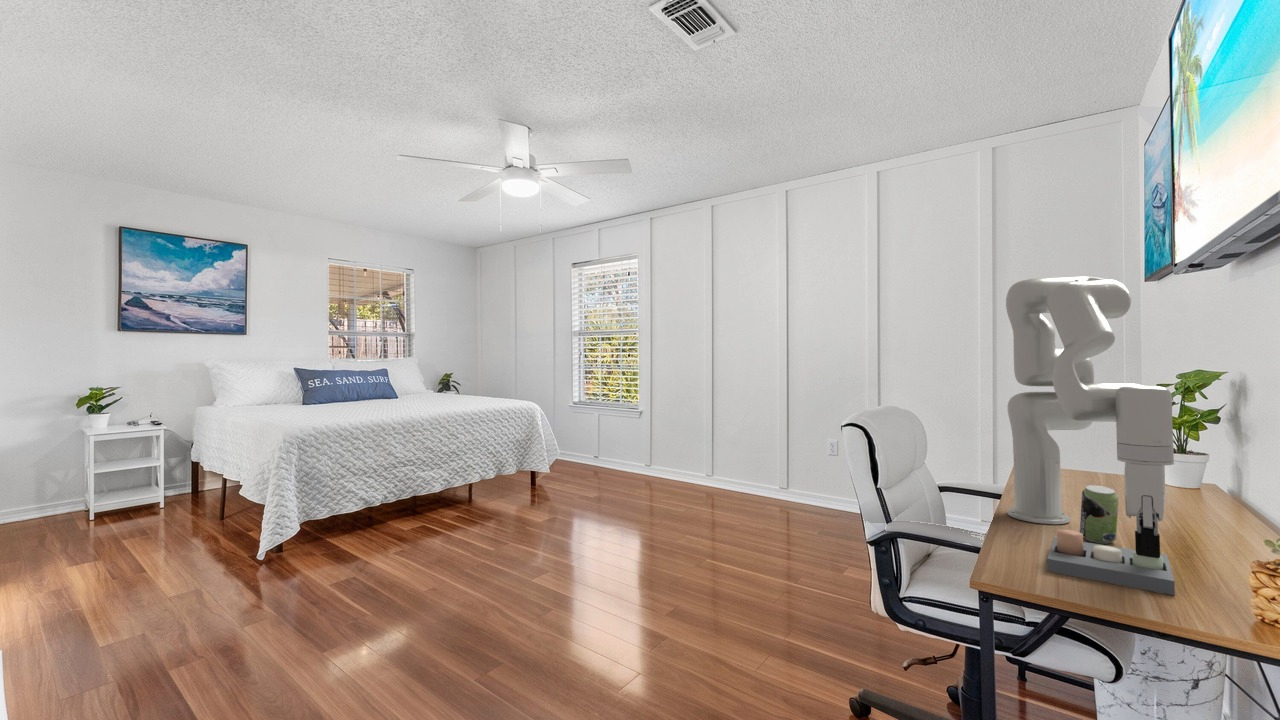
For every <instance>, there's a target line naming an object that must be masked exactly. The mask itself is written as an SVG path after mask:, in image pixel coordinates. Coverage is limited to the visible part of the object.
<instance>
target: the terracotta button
mask: <svg viewBox="0 0 1280 720" xmlns="http://www.w3.org/2000/svg"><path fill="white" fill-rule="evenodd" d="M1056 538H1057V551H1059V552H1061V553H1064V554H1069V555H1083V542H1084V536H1083V534H1082V533H1080V531H1076V530H1072V529H1056Z"/></svg>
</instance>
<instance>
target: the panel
mask: <svg viewBox="0 0 1280 720" xmlns="http://www.w3.org/2000/svg"><path fill="white" fill-rule="evenodd" d="M1098 545H1100V546H1107V544H1105V545H1104V544H1101V543H1095V542H1086V541H1083V555H1069V554H1064V553H1061V552H1059V551H1057V537H1053V541H1052V544H1051V546H1050V549H1049V552H1048V555H1047V561H1046V562H1047V564H1046V565H1047V572H1048V573H1053V574H1059V575H1065V576H1068V577H1069V576H1070V577H1075V578H1081V579H1086V580H1090V581H1096V582H1101V583H1102V582H1103V583H1107V584H1111V585H1118V586H1122V587H1128V588H1132V589H1138V588H1140V589H1139V590H1143V589H1145V590H1144V591H1148V590H1150V592H1154V593H1158V594H1159V593H1160V594H1164V593H1165V595H1171V596H1176V591H1175V584H1176V583H1175V578H1174V575H1173V570H1172V567H1171V564H1170V560H1169V556H1168V554H1164V553H1160V556H1161V557H1163V570H1157V569H1151V568H1145V567H1139V566H1133V554H1132V553H1133V552H1136V549H1132V548H1125V547H1118V546H1113V545H1108V546H1109V547H1114V548H1117V549H1119V550H1121V551H1122V563H1116V562H1110V561H1104V560H1098V559H1094V551H1093V547H1094V546H1098Z"/></svg>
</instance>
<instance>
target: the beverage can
mask: <svg viewBox="0 0 1280 720" xmlns="http://www.w3.org/2000/svg"><path fill="white" fill-rule="evenodd" d="M1080 504H1081V505H1080V507H1081V508H1080V521H1079V522H1080V524H1079V532H1080V533H1082V534H1083V538H1085V540H1087V541H1089V542H1091V543H1094V544H1100V545H1104V544H1105V545H1108V544H1110V543H1113V542H1115V541H1117V540H1116V539H1117V526H1118V515H1119V514H1118V512H1119V496H1118V494H1117V493H1116V490H1115V489H1113V488H1112V487H1108V486H1105V485H1100V484H1099V485H1098V484H1089V485H1088V484H1087V485H1086V486H1085V488H1084V489H1083V491H1081V503H1080Z"/></svg>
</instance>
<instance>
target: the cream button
mask: <svg viewBox="0 0 1280 720" xmlns="http://www.w3.org/2000/svg"><path fill="white" fill-rule="evenodd" d="M1100 545H1101V544H1100ZM1100 545H1098V546H1094V547H1093V551H1094V559H1098V560H1104V561H1110V562H1116V563H1122V551H1121V550H1119V549H1117V548H1114V547H1115V546H1113V547H1109V546H1110V545H1106V546H1100Z"/></svg>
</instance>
